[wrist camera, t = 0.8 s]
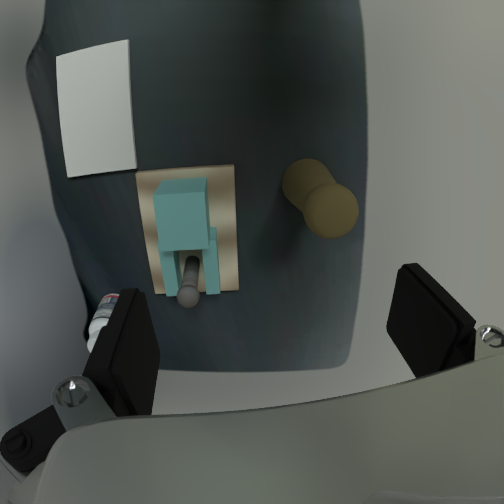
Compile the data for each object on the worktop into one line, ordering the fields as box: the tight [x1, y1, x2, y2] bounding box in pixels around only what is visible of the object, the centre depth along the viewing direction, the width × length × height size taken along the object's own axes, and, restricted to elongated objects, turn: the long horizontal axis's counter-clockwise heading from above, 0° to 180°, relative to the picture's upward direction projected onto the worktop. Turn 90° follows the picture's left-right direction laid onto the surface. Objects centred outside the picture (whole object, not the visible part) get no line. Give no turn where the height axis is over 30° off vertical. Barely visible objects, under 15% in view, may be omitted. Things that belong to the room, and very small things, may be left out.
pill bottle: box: [87, 294, 120, 353], centre depth 39 cm, size 5×5×9 cm
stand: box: [136, 164, 239, 308], centre depth 35 cm, size 16×11×10 cm
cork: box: [282, 158, 359, 239], centre depth 33 cm, size 6×6×11 cm
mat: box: [56, 40, 137, 177], centre depth 30 cm, size 15×9×1 cm, turn 1°
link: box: [153, 177, 220, 296], centre depth 35 cm, size 13×6×6 cm, turn 1°
